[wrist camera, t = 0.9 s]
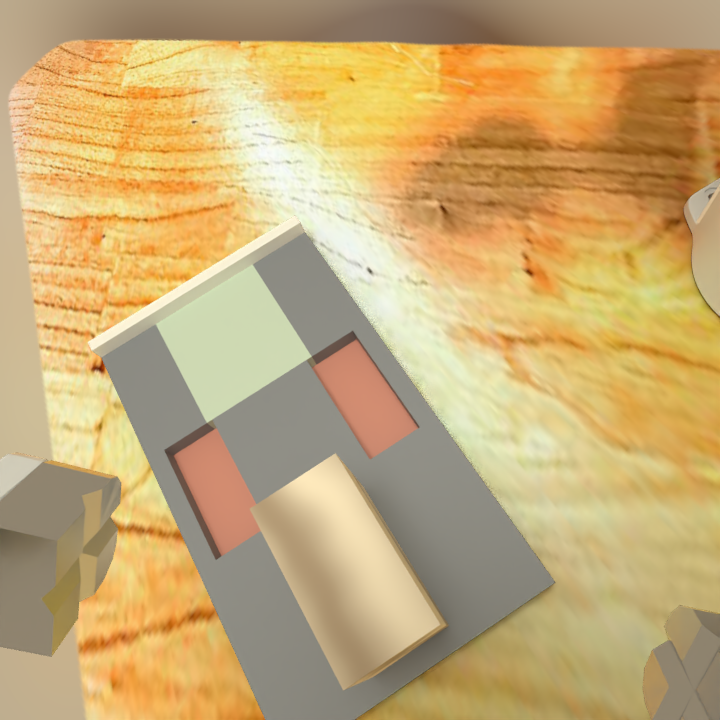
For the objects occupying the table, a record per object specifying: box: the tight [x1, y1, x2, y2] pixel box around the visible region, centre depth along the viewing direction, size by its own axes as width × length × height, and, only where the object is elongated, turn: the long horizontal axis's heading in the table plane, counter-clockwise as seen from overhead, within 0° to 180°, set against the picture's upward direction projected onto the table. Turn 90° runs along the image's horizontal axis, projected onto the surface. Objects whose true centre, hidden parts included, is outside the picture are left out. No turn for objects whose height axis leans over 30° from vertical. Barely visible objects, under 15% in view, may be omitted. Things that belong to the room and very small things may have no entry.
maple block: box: [250, 453, 449, 690], centre depth 39 cm, size 6×11×10 cm, turn 31°
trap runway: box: [88, 215, 555, 720], centre depth 49 cm, size 21×36×4 cm, turn 31°
